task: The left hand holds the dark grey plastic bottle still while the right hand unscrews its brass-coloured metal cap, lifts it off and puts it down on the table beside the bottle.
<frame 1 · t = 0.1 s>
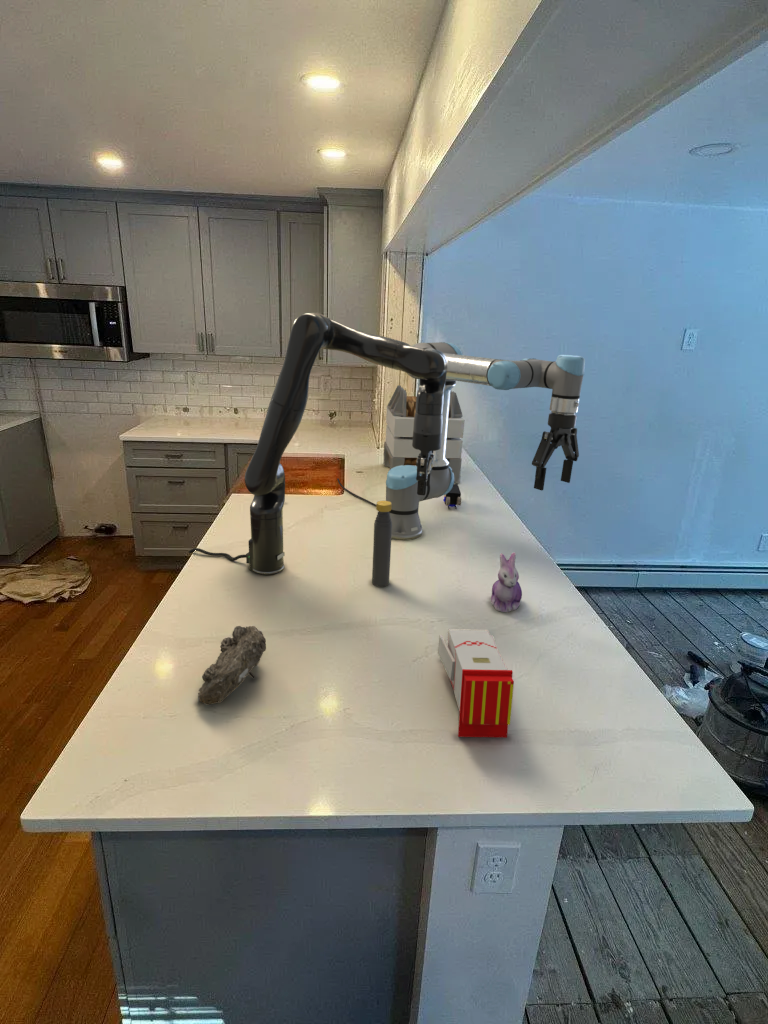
left hand: (423, 490, 152), 29 cm above the counter, tool pointing down, fingers open, 8 cm apart
right hand: (552, 485, 166), 28 cm above the counter, tool pointing down, fingers open, 13 cm apart
fossil: (237, 676, 120), on the counter
cap: (384, 504, 156), point 24 cm above the counter, screwed on, not yet turned
toy: (469, 691, 119), on the counter
figurine: (505, 605, 154), on the counter
bottle: (380, 582, 164), on the counter
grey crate: (419, 473, 275), on the counter
figurine character: (451, 505, 231), on the counter
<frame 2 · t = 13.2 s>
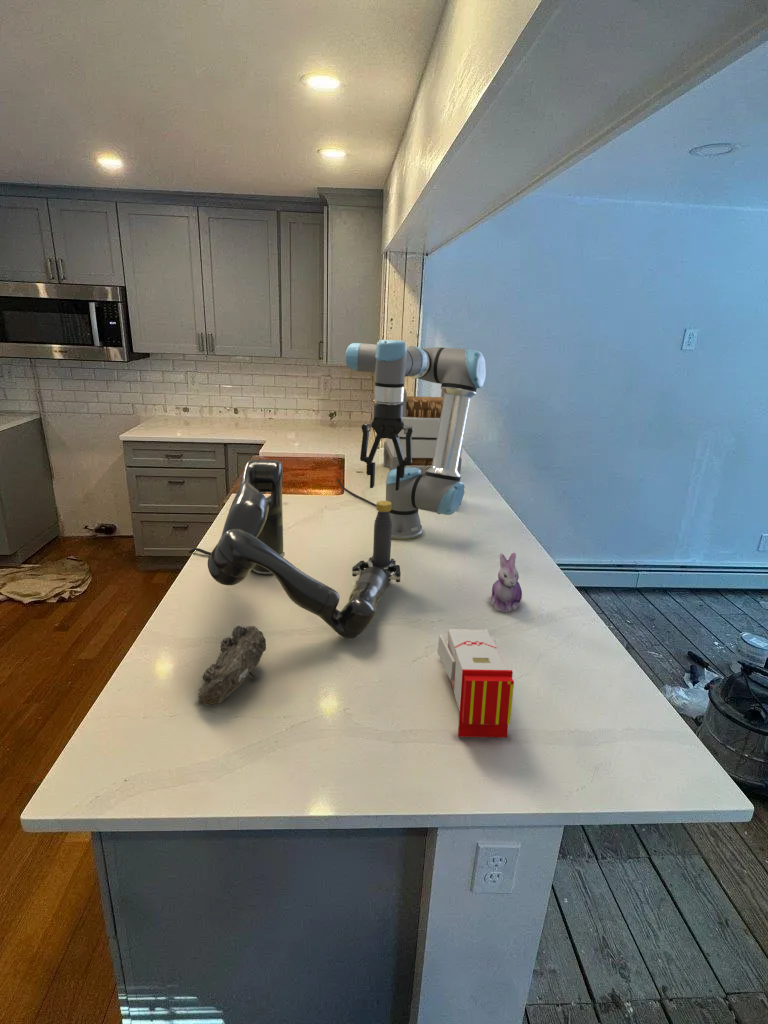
left hand: (383, 560, 164), 6 cm above the counter, tool horizontal, fingers closed on bottle, 5 cm apart
right hand: (384, 487, 154), 29 cm above the counter, tool pointing down, fingers open, 6 cm apart
bottle: (380, 582, 164), on the counter, touching left hand
everything else where it was.
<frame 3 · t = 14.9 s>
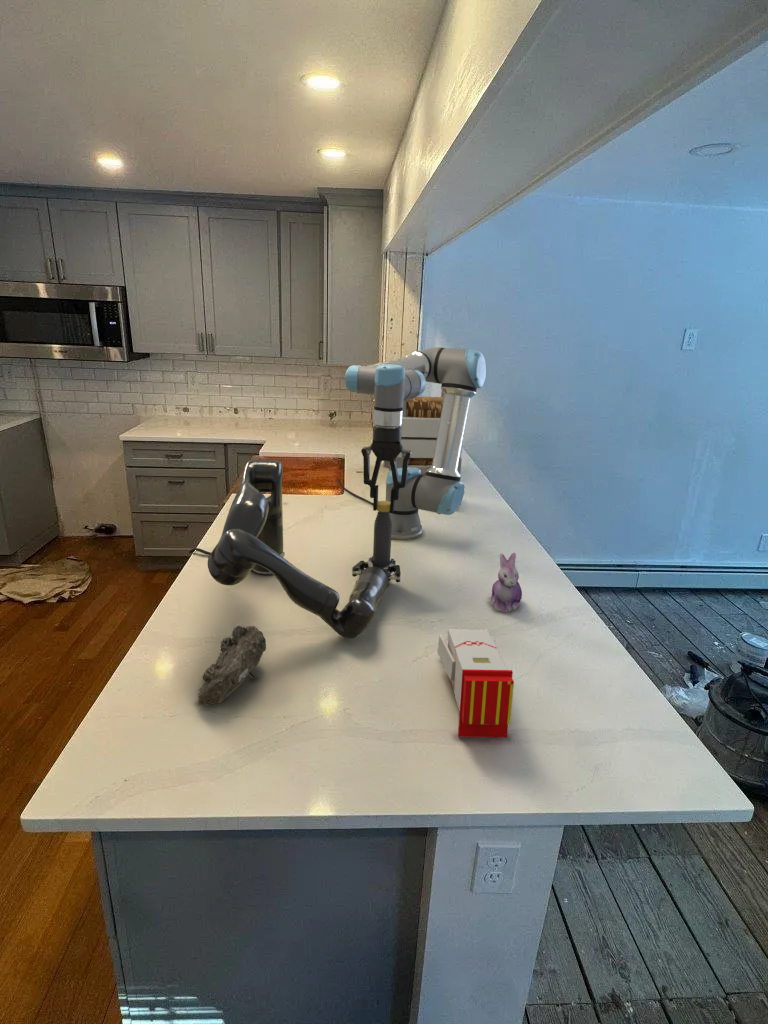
left hand: (383, 560, 164), 6 cm above the counter, tool horizontal, fingers closed on bottle, 5 cm apart
right hand: (383, 509, 156), 22 cm above the counter, tool pointing down, fingers closed on cap, 4 cm apart
cap: (384, 504, 156), point 24 cm above the counter, screwed on, not yet turned, touching right hand
bottle: (380, 582, 164), on the counter, touching left hand
everything else where it was.
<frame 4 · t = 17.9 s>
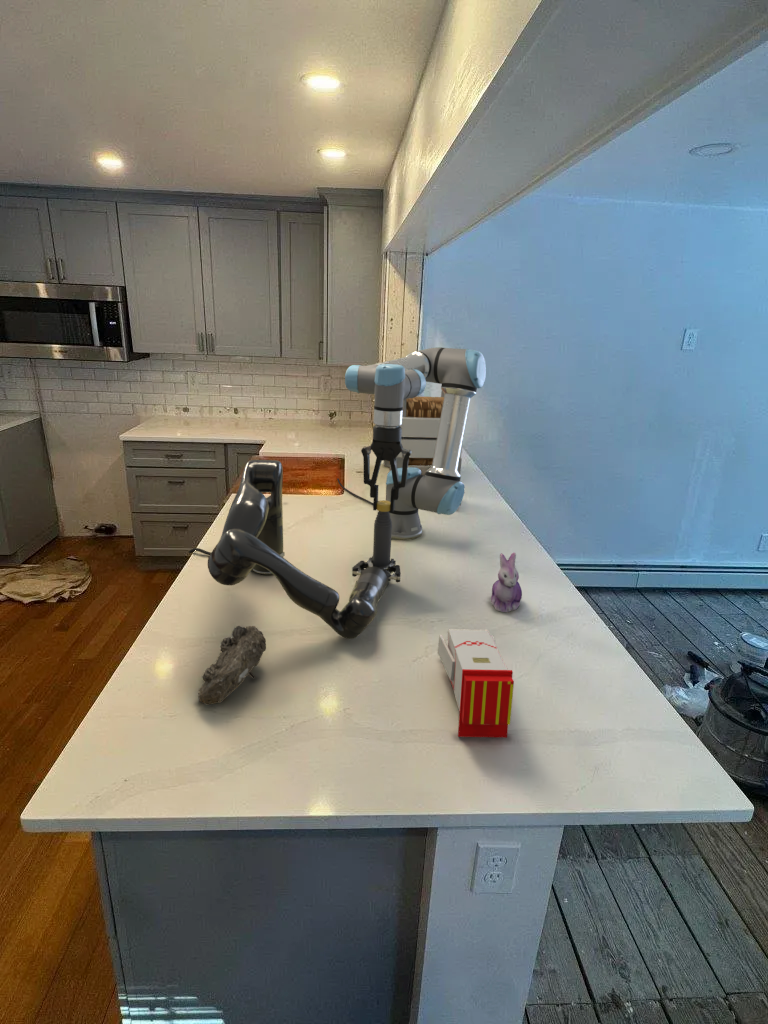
left hand: (383, 560, 164), 6 cm above the counter, tool horizontal, fingers closed on bottle, 5 cm apart
right hand: (383, 509, 156), 23 cm above the counter, tool pointing down, fingers closed on cap, 4 cm apart
cap: (384, 503, 156), point 24 cm above the counter, turned 82° so far, risen 0.1 cm, still on its thread, touching right hand
bottle: (380, 582, 164), on the counter, touching left hand
everything else where it was.
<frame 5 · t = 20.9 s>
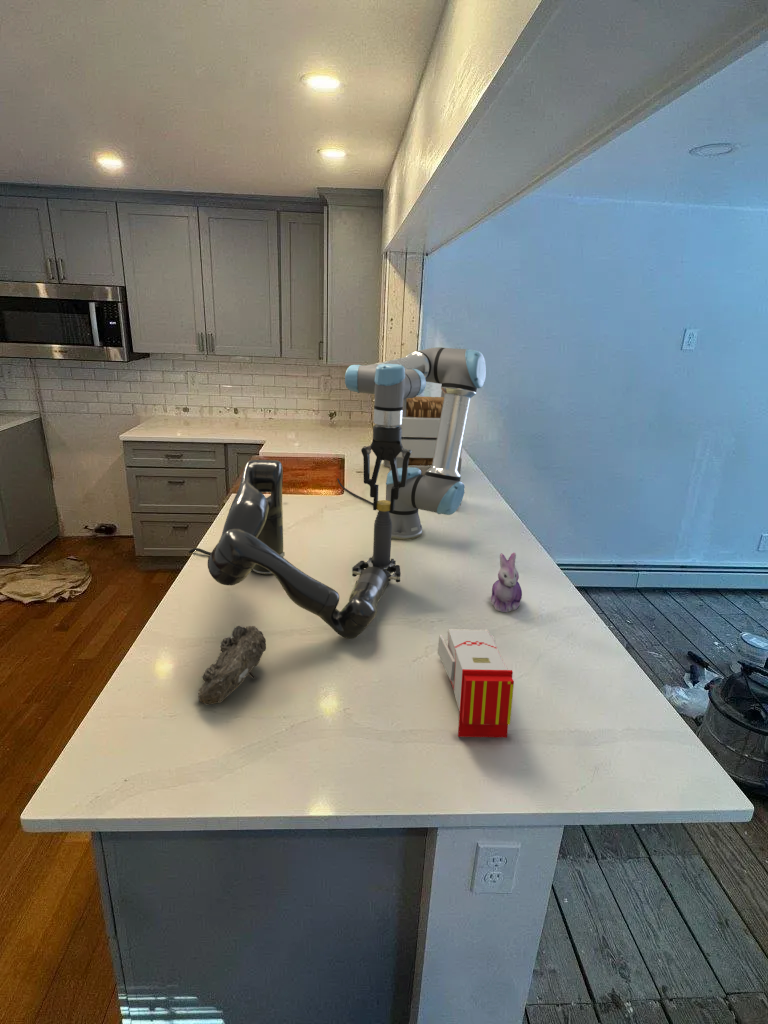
left hand: (383, 560, 164), 6 cm above the counter, tool horizontal, fingers closed on bottle, 5 cm apart
right hand: (383, 509, 156), 23 cm above the counter, tool pointing down, fingers closed on cap, 4 cm apart
cap: (384, 503, 155), point 24 cm above the counter, turned 165° so far, risen 0.2 cm, still on its thread, touching right hand
bottle: (380, 582, 164), on the counter, touching left hand
everything else where it was.
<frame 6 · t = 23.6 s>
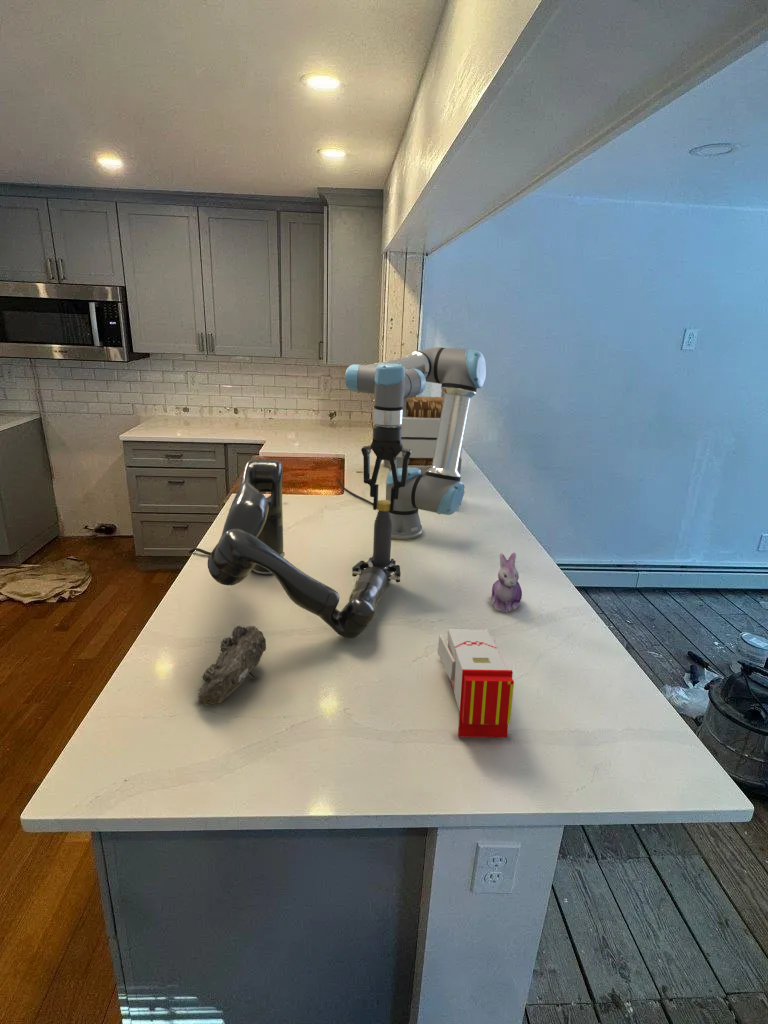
left hand: (383, 560, 164), 6 cm above the counter, tool horizontal, fingers closed on bottle, 5 cm apart
right hand: (383, 508, 156), 23 cm above the counter, tool pointing down, fingers closed on cap, 4 cm apart
cap: (384, 503, 155), point 24 cm above the counter, turned 247° so far, risen 0.2 cm, still on its thread, touching right hand
bottle: (380, 582, 164), on the counter, touching left hand
everything else where it was.
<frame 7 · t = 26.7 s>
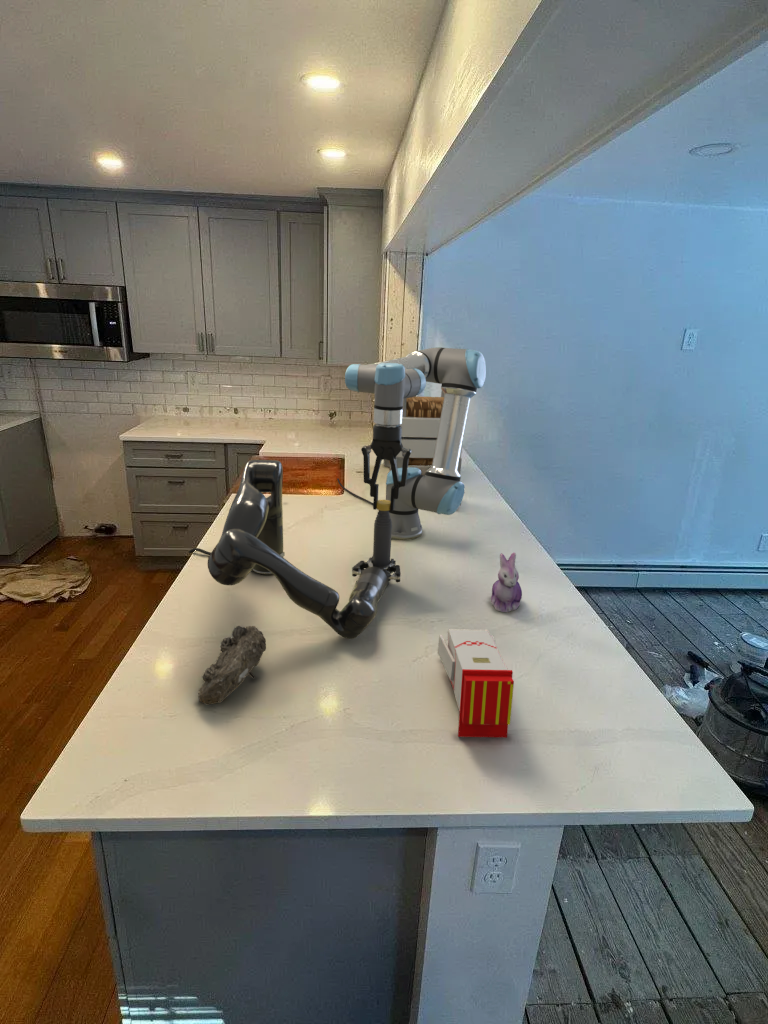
left hand: (383, 560, 164), 6 cm above the counter, tool horizontal, fingers closed on bottle, 5 cm apart
right hand: (383, 508, 156), 23 cm above the counter, tool pointing down, fingers closed on cap, 4 cm apart
cap: (384, 502, 155), point 24 cm above the counter, turned 330° so far, risen 0.3 cm, still on its thread, touching right hand
bottle: (380, 582, 164), on the counter, touching left hand
everything else where it was.
when the right hand's fingers open (1 cm above the counter, at t = 36.5 s): cap stays where it is, point 2 cm above the counter.
when the left hand's fingers open (6 cm above the counter, at t = 37.9 s): bottle stays where it is, on the counter.
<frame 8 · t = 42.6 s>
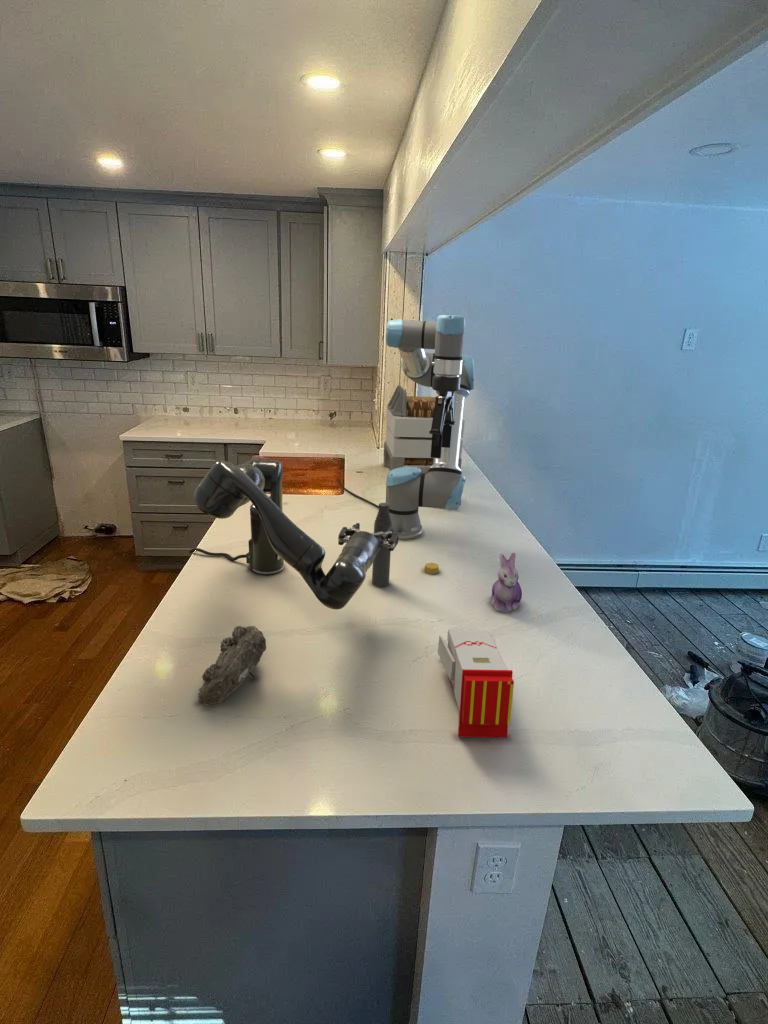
left hand: (374, 528, 146), 21 cm above the counter, tool horizontal, fingers open, 8 cm apart
right hand: (440, 452, 160), 37 cm above the counter, tool pointing down, fingers open, 13 cm apart
cap: (431, 566, 172), point 2 cm above the counter, off its thread
bottle: (380, 582, 164), on the counter
everything else where it was.
at the end: cap came off its thread; cap point 1.6 cm above the counter; the left hand is holding nothing; the right hand is holding nothing; bottle tilted 0°; bottle moved 0.0 cm from its start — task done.
